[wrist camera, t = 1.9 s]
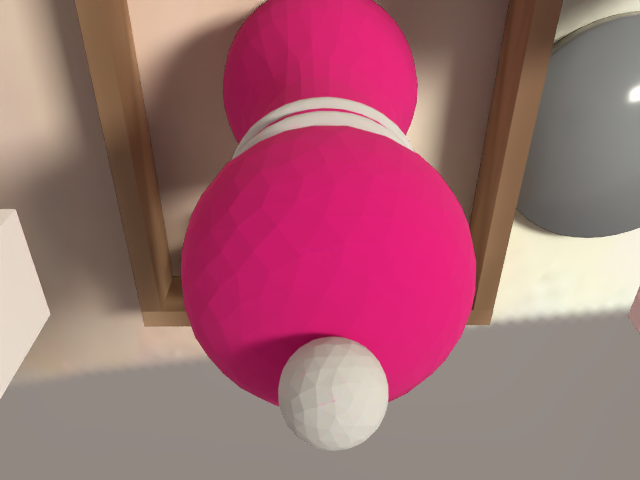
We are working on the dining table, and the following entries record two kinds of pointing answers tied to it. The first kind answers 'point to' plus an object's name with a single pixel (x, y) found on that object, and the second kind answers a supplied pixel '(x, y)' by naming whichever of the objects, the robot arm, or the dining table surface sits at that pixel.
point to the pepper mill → (326, 225)
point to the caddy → (141, 183)
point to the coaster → (588, 134)
